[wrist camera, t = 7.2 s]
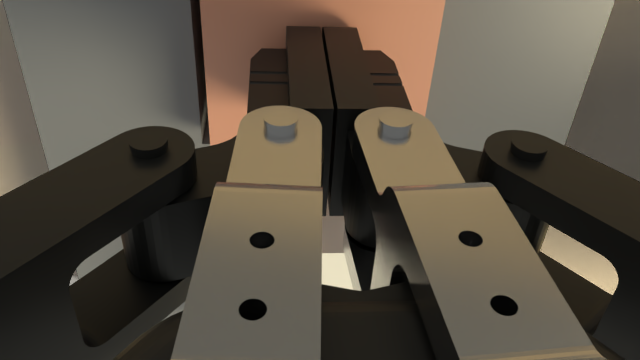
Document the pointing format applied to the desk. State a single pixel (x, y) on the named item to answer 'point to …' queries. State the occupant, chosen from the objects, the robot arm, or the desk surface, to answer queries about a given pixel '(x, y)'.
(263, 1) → the orange block
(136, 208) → the robot arm
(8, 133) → the desk surface
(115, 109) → the key console
